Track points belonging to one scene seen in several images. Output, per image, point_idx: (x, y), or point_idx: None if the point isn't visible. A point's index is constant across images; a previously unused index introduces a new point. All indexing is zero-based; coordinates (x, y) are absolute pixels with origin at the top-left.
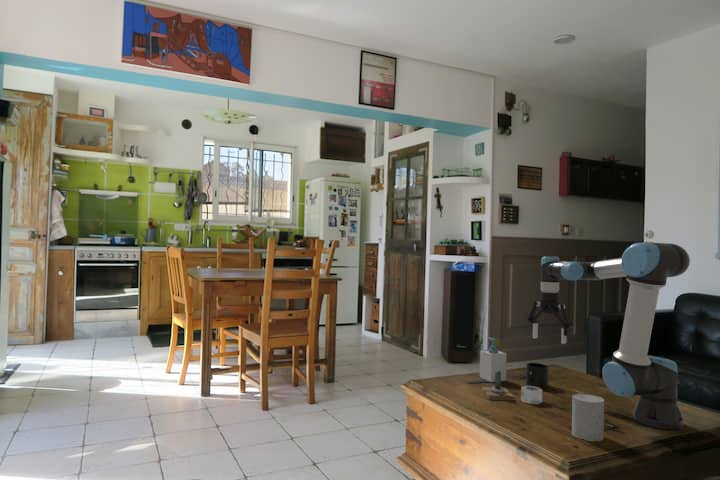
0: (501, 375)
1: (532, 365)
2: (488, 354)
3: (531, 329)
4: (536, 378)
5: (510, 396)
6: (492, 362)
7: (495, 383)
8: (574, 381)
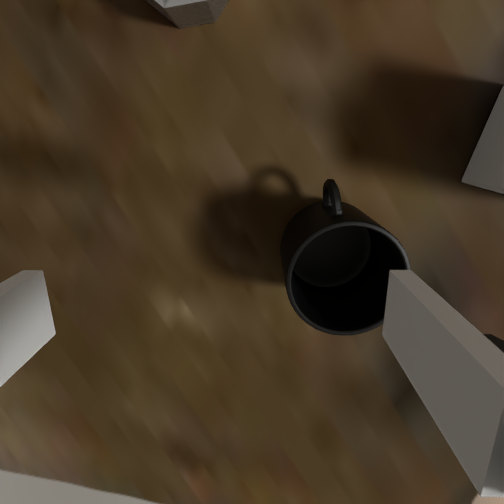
0: (490, 153)
1: None
2: None
3: (500, 339)
4: (311, 215)
5: None
6: None
7: None
8: (269, 421)
